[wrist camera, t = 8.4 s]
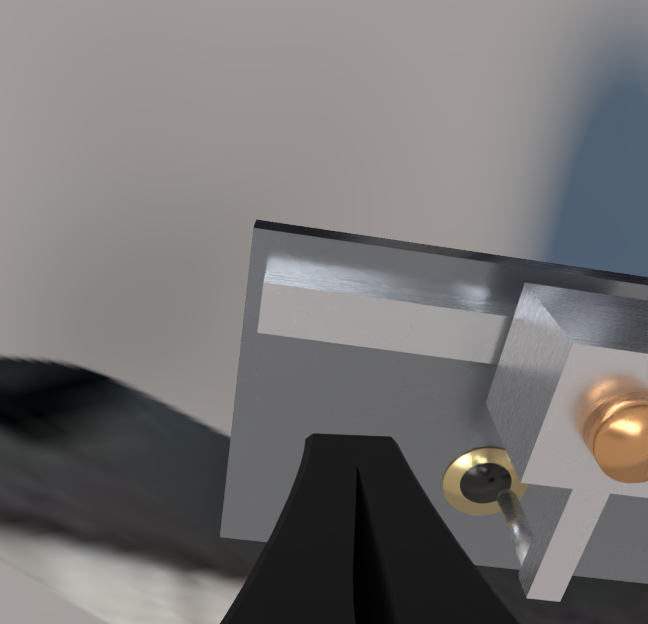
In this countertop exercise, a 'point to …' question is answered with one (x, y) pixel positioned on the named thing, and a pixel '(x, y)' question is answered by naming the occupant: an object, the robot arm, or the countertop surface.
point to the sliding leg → (570, 421)
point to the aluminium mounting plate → (398, 381)
